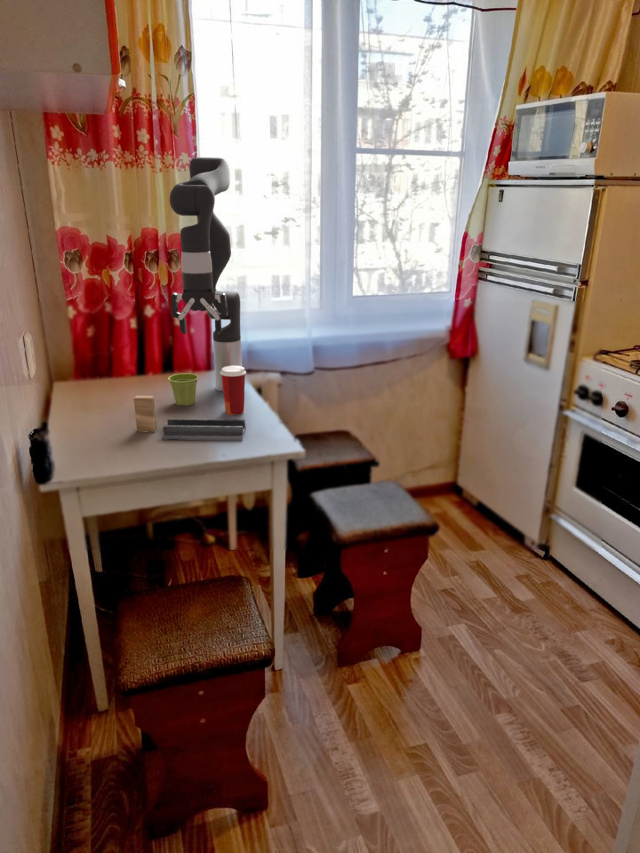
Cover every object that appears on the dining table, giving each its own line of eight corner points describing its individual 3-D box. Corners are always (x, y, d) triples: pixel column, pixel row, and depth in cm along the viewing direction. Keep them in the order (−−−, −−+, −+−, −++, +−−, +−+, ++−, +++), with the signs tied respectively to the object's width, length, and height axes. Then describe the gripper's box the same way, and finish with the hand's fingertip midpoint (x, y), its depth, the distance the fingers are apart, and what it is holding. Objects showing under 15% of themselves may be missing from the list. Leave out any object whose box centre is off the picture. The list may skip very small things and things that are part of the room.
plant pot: (177, 409, 191) (175, 383, 188) (165, 401, 198) (163, 376, 195) (204, 404, 196) (203, 378, 193) (192, 396, 203) (190, 371, 200)
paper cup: (251, 409, 192) (250, 366, 187) (240, 417, 185) (238, 373, 180) (229, 406, 194) (227, 364, 189) (217, 414, 188) (215, 370, 183)
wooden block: (139, 428, 176) (136, 395, 172) (156, 428, 176) (153, 395, 172) (137, 431, 174) (133, 398, 170) (154, 431, 174) (151, 398, 170)
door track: (170, 426, 178) (169, 416, 177) (246, 427, 178) (245, 417, 177) (162, 439, 168) (161, 428, 167) (242, 440, 168) (241, 429, 167)
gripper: (227, 268, 157) (230, 330, 163) (172, 268, 157) (177, 330, 163) (223, 272, 150) (226, 337, 156) (165, 271, 150) (170, 336, 156)
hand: (201, 333), depth 160 cm, fingers open, 8 cm apart
